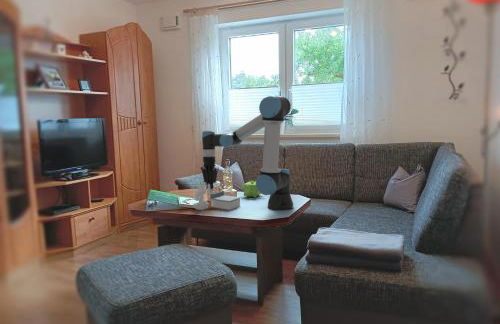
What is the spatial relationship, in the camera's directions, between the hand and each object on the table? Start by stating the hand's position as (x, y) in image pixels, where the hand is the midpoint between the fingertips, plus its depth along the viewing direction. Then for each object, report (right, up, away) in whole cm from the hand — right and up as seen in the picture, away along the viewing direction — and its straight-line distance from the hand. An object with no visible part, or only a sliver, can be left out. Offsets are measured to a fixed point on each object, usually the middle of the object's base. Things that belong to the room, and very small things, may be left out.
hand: (210, 194), depth 225 cm
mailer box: (+10, -8, -6) cm, 14 cm away
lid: (+10, -2, -7) cm, 12 cm away
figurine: (-4, -9, -10) cm, 14 cm away
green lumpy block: (+26, -4, +24) cm, 36 cm away
